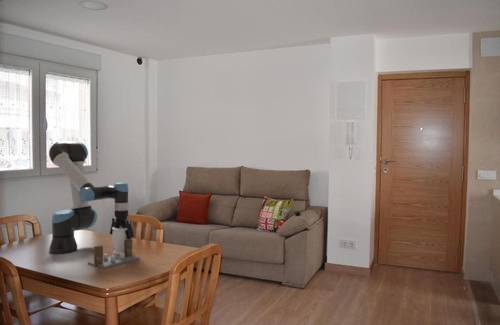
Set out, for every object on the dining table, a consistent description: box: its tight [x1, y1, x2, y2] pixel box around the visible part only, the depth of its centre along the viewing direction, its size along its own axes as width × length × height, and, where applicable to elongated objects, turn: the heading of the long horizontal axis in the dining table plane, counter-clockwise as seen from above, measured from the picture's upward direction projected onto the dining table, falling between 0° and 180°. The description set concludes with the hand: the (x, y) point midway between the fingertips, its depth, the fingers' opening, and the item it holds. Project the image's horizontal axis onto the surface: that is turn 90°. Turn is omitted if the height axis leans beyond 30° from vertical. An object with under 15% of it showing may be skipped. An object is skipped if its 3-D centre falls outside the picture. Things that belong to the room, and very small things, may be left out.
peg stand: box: [87, 251, 140, 270], centre depth 221 cm, size 14×22×4 cm, turn 146°
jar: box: [111, 226, 129, 255], centre depth 239 cm, size 11×10×15 cm
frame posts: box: [93, 238, 133, 268], centre depth 221 cm, size 3×22×10 cm, turn 146°
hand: (121, 248), depth 239 cm, fingers closed on jar, 10 cm apart
